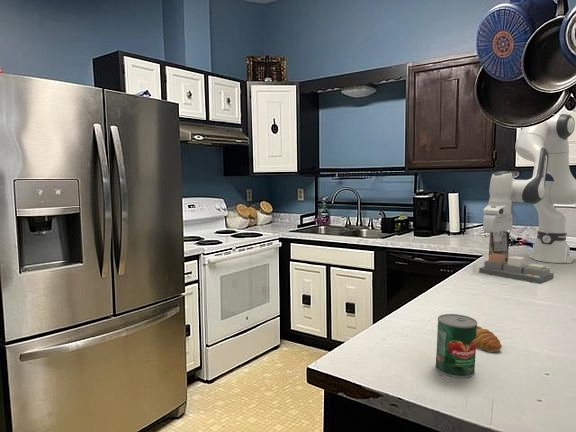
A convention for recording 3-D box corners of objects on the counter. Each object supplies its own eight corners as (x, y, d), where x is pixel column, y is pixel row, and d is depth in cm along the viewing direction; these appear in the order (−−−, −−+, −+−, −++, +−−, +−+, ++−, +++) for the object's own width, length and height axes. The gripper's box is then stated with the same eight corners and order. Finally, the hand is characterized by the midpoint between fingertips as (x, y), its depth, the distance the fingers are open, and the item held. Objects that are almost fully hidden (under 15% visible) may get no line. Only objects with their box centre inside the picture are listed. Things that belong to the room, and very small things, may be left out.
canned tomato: (460, 381, 87) (463, 329, 86) (427, 367, 93) (430, 318, 92) (482, 371, 92) (485, 321, 91) (449, 358, 98) (451, 311, 97)
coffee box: (508, 267, 195) (510, 232, 194) (492, 266, 196) (494, 231, 195) (502, 263, 204) (504, 229, 202) (487, 262, 205) (489, 229, 204)
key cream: (512, 264, 183) (513, 255, 183) (524, 265, 179) (525, 257, 179) (507, 265, 180) (508, 257, 179) (519, 267, 176) (520, 259, 176)
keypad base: (494, 268, 194) (494, 258, 193) (553, 278, 175) (554, 267, 175) (479, 272, 185) (479, 262, 184) (540, 283, 166) (540, 272, 166)
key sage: (532, 271, 177) (532, 263, 177) (545, 274, 173) (545, 265, 173) (527, 273, 174) (528, 265, 174) (540, 275, 170) (541, 267, 170)
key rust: (493, 261, 189) (494, 253, 189) (504, 262, 185) (505, 254, 185) (488, 262, 186) (488, 254, 186) (499, 264, 182) (500, 256, 182)
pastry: (509, 353, 102) (510, 337, 101) (484, 355, 100) (485, 339, 100) (483, 338, 111) (484, 323, 111) (460, 340, 110) (460, 325, 109)
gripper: (502, 208, 192) (500, 238, 194) (481, 209, 179) (479, 242, 180) (517, 209, 188) (515, 240, 189) (496, 210, 174) (494, 244, 176)
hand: (497, 241), depth 184 cm, fingers closed
